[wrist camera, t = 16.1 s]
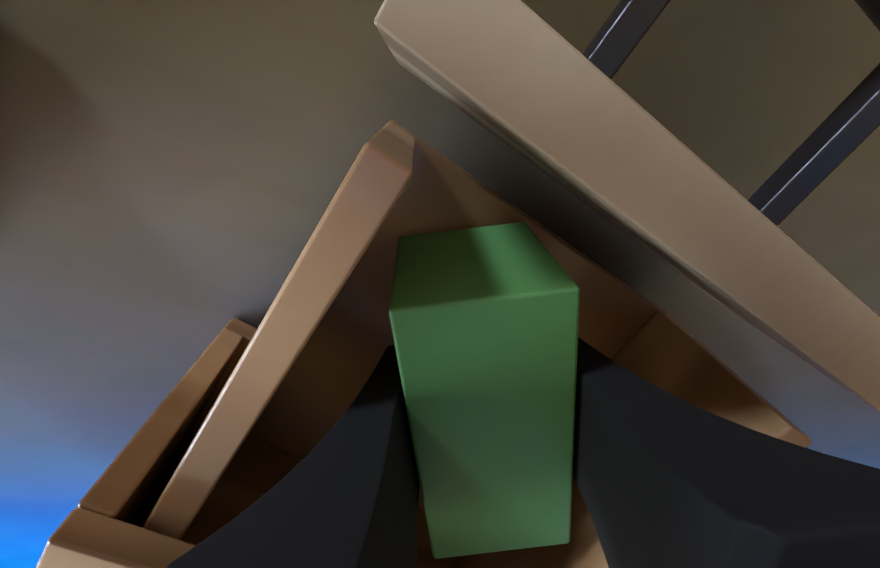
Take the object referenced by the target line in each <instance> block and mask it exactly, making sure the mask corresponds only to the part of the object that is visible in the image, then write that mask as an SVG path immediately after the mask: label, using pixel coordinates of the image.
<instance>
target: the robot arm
mask: <svg viewBox="0 0 880 568" xmlns="http://www.w3.org/2000/svg"><path fill="white" fill-rule="evenodd" d="M573 477H574V479H575V481H576V483H577V485H578V488H579V490H580V492H581V494H582V496H583V498H584V501H585V503H586V506H587V508H588V511H589V513H590V515H591V518H592V521H593V524H594V526H595V529H596V532H597V535H598V538H599V541H600V544H601V547H602V549H603V552H604V555H605V558H606V561H607V564H608V567H609V568H880V469H877V468H874V467H870V466H866V465H863V464H859V463H856V462H852V461H848V460H845V459H841V458H837V457H834V456H830V455H827V454H823V453H820V452H817V451H814V450H811V449H808V448H805V447H802V446H799V445H796V444H793V443H790V442H787V441H783V440H780V439H777V438H775V437H772V436H769V435H766V434H764V433H761V432H758V431H755V430H752V429H750V428H747V427H745V426H742V425H740V424H737V423H735V422H732V421H730V420H727V419H725V418H722V417H720V416H717V415H715V414H713V413H710V412H708V411H706V410H704V409H701V408H699V407H697V406H695V405H693V404H691V403H689V402H686V401H684V400H682V399H680V398H678V397H676V396H674V395H672V394H670V393H668V392H666V391H664V390H662V389H660V388H658V387H657V386H655V385H653V384H651V383H649V382H648V381H646V380H644V379H642V378H641V377H639V376H637V375H636V374H634V373H632V372H630V371H629V370H627V369H626V368H624V367H622V366H621V365H619V364H617V363H616V362H614V361H613V360H611V359H610V358H608V357H607V356H605V355H604V354H602V353H601V352H599V351H598V350H596V349H595V348H593V347H592V346H590V345H589V344H587V343H586V342H585V341H583V340H582V339H580V338H579V337H578V354H577V379H576V404H575V428H574V453H573ZM419 487H420V483H419V477H418V472H417V466H416V461H415V455H414V450H413V444H412V439H411V433H410V428H409V422H408V417H407V411H406V406H405V400H404V395H403V389H402V383H401V378H400V372H399V367H398V361H397V356H396V350H395V345H390V346H388V347H387V348H386V350H385V351H384V353H383V355H382V357H381V359H380V360H379V362H378V364H377V365H376V367H375V369H374V370H373V372H372V374H371V375H370V377H369V378H368V380H367V381H366V383H365V384H364V386H363V387H362V389H361V390H360V392H359V393H358V395H357V396H356V398H355V399H354V401H353V402H352V403H351V405H350V406H349V407H348V409H347V410H346V411H345V412H344V414H343V415H342V416H341V418H340V419H339V420H338V422H337V423H336V424H335V425H334V426H333V428H332V429H331V430H330V431H329V432H328V434H327V435H326V436H325V437H324V438H323V439H322V440H321V441H320V442H319V444H318V445H317V446H316V447H315V448H314V449H313V450H312V451H311V452H310V453H309V454H308V455H307V456H306V457H305V458H304V459H303V460H302V461H301V462H300V463H299V464H298V465H297V466H295V467H294V468H293V469H292V470H291V471H290V472H289V473H288V474H287V475H286V476H285V477H284V478H283V479H282V480H281V481H279V482H278V483H277V484H276V485H275V486H274V487H273V488H271V489H270V490H269V491H268V492H267V493H265V494H264V495H263V496H262V497H261V498H259V499H258V500H257V501H256V502H254V503H253V504H252V505H251V506H249V507H248V508H247V509H246V510H244V511H243V512H242V513H240V514H239V515H238V516H237V517H235V518H234V519H233V520H231V521H230V522H229V523H227V524H226V525H225V526H223V527H222V528H220V529H219V530H218V531H216V532H215V533H213V534H212V535H210V536H209V537H208V538H206V539H205V540H203V541H202V542H200V543H199V544H198V545H196V546H195V547H193V548H192V549H190V550H189V551H188V552H186V553H185V554H183V555H182V556H180V557H179V558H177V559H176V560H174V561H173V562H171V563H170V564H169V565H168V566H167V568H417V516H418V501H419Z"/></svg>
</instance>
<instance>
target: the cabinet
mask: <svg viewBox="0 0 880 568" xmlns="http://www.w3.org/2000/svg"><path fill="white" fill-rule="evenodd" d="M256 330H257V328H255V327H253V326H251V325H249V324H247V323H245V322H243V321H241V320H239V319H236V318H232V319H231V320H230V321H229V322H228V323H227V325H226V326H225V327H224V329H222V331H221V332H220V333H219V334H218V335H217V337H216V338H215V339H214V340H213V342H212V343H211V344H210V345H209V346H208V348H207V349H206V350H205V351H204V352H203V354H202V355H201V356H200V357H199V358H198V360H197V361H196V362H195V363H194V364H193V366H192V367H191V368H190V369H189V370H188V372H187V373H186V374H185V375H184V376H183V378H182V379H181V380H180V381H179V382H178V384H177V385H176V386H175V387H174V388H173V390H172V391H171V392H170V393H169V394H168V396H167V397H166V398H165V399H164V400H163V402H162V403H161V404H160V405H159V407H158V408H157V409H156V410H155V411H154V413H153V414H152V415H151V416H150V417H149V419H148V420H147V421H146V422H145V423H144V425H143V426H142V427H141V428H140V429H139V431H138V432H137V433H136V434H135V435H134V437H133V438H132V439H131V440H130V441H129V443H128V444H127V445H126V446H125V447H124V449H123V450H122V451H121V452H120V453H119V455H118V456H117V457H116V458H115V459H114V461H113V462H112V463H111V464H110V465H109V467H108V468H107V469H106V470H105V472H104V473H103V474H102V475H101V476H100V478H99V479H98V480H97V481H96V482H95V484H94V485H93V486H92V487H91V488H90V490H89V491H88V492H87V493H86V494H85V496H84V497H83V498H82V499H81V500H80V502H79V503H78V505H77V507H76V508H75V509H74V510H72V511H71V512H70V514H69V515H68V516H67V517H66V519H65V520H64V521H63V522H62V523H61V525H60V526H59V527H58V528H57V529H56V531H55V532H54V533H53V534H52V535H51V537H50V538H49V539H48V541H47V544H46V546H45V548H44V550H43V552H42V555H41V557H40V559H39V561H38V563H37V565H36V568H167V566H168V565H169V564H170V563H171V562H173V561H174V560H176V559H177V558H179V557H180V556H182V555H183V554H185V553H186V552H188V551H189V550H190V549H192V548H193V547H195V546H196V545H194V544H191V543H188V542H185V541H182V540H179V539H175V538H172V537H169V536H166V535H163V534H160V533H157V532H154V531H151V530H148V529H145V528H143V526H144V524H145V522H146V521H147V519H148V517H149V515H150V514H151V512H152V510H153V508H154V507H155V505H156V503H157V502H158V500H159V498H160V496H161V495H162V493H163V491H164V489H165V488H166V486H167V484H168V483H169V481H170V479H171V477H172V476H173V474H174V472H175V470H176V469H177V467H178V465H179V464H180V462H181V460H182V458H183V457H184V455H185V453H186V451H187V450H188V448H189V446H190V444H191V443H192V441H193V439H194V438H195V436H196V434H197V432H198V431H199V429H200V427H201V425H202V424H203V422H204V420H205V419H206V417H207V415H208V413H209V412H210V410H211V408H212V406H213V405H214V403H215V401H216V400H217V398H218V396H219V394H220V393H221V391H222V389H223V387H224V386H225V384H226V382H227V380H228V379H229V377H230V375H231V374H232V372H233V370H234V368H235V367H236V365H237V363H238V361H239V360H240V358H241V356H242V355H243V353H244V351H245V349H246V348H247V346H248V344H249V342H250V341H251V339H252V337H253V336H254V334H255V332H256Z"/></svg>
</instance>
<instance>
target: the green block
mask: <svg viewBox="0 0 880 568" xmlns="http://www.w3.org/2000/svg"><path fill="white" fill-rule="evenodd" d="M579 304H580V289H579V287H578V285H577V284H576V283H575V282H574V281H573V279H572V278H571V277H570V276H569V275H568V274H567V272H566V271H565V270H564V269H563V268H562V266H561V265H560V264H559V263H558V262H557V260H556V259H555V258H554V257H553V256H552V255H551V253H550V252H549V251H548V250H547V249H546V247H545V246H544V245H543V244H542V243H541V241H540V240H539V239H538V238H537V237H536V236H535V234H534V233H533V232H532V231H531V230H530V228H529V227H528V226H527V225H526V224H525V223H524V222H518V223H510V224H501V225H493V226H484V227H476V228H467V229H459V230H450V231H442V232H434V233H425V234H417V235H408V236H401V237H399V239H398V246H397V253H396V261H395V268H394V276H393V283H392V291H391V299H390V306H389V317H390V323H391V328H392V334H393V339H394V345H395V350H396V356H397V361H398V367H399V372H400V378H401V383H402V389H403V395H404V400H405V406H406V411H407V417H408V422H409V428H410V433H411V439H412V444H413V450H414V455H415V461H416V466H417V472H418V477H419V483H420V488H421V494H422V499H423V505H424V510H425V516H426V521H427V527H428V532H429V538H430V543H431V549H432V555H433V557H434V558H435V559H439V558H448V557H456V556H465V555H473V554H482V553H490V552H499V551H507V550H515V549H524V548H532V547H541V546H549V545H558V544H566V543H569V542H570V528H571V503H572V478H573V453H574V428H575V404H576V379H577V354H578V329H579Z"/></svg>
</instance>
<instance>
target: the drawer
mask: <svg viewBox="0 0 880 568" xmlns="http://www.w3.org/2000/svg"><path fill="white" fill-rule="evenodd" d="M669 2H670V0H621V1H620V2H619V4H618V5H617V7H616V8H615V9H614V11H613V12H612V14H611V15H610V16H609V18H608V19H607V21H606V22H605V23H604V25H603V26H602V28H601V29H600V30H599V32H598V33H597V35H596V36H595V37H594V39H593V40H592V42H591V43H590V44H589V46H588V47H587V49H586V50H585V51H584V53H583V54H581V53H580V52H579V51H578V50H577V49H576V48H574V47H573V46H572V45H571V44H570V43H569V42H568V41H567V40H565V39H564V38H563V37H562V36H561V35H560V34H559V33H557V32H556V31H555V30H554V29H553V28H552V27H551V26H550V25H548V24H547V23H546V22H545V21H544V20H543V19H542V18H541V17H539V16H538V15H537V14H536V13H535V12H534V11H533V10H531V9H530V8H529V7H528V6H527V5H526V4H525V3H524V2H522V1H521V0H384V2H383V4H382V6H381V7H380V9H379V11H378V13H377V15H376V17H375V19H374V23H375V25H376V27H377V29H378V30H379V32H380V34H381V35H382V37H383V39H384V40H385V42H386V44H387V45H388V47H389V49H390V50H391V52H392V54H393V56H394V57H395V59H396V61H397V62H398V63H399V64H400V65H402V66H403V67H404V68H406V69H407V70H408V71H410V72H411V73H412V74H414V75H415V76H416V77H418V78H419V79H420V80H422V81H423V82H424V83H426V84H427V85H428V86H430V87H431V88H432V89H434V90H435V91H436V92H438V93H439V94H440V95H442V96H443V97H444V98H446V99H447V100H448V101H450V102H451V103H452V104H454V105H455V106H456V107H458V108H459V109H460V110H462V111H463V112H464V113H466V114H467V115H468V116H470V117H471V118H472V119H474V120H475V121H476V122H478V123H479V124H480V125H482V126H483V127H484V128H486V129H487V130H488V131H490V132H491V133H492V134H494V135H495V136H496V137H498V138H499V139H500V140H502V141H503V142H504V143H506V144H507V145H508V146H510V147H511V148H512V149H514V150H515V151H516V152H518V153H519V154H520V155H522V156H523V157H524V158H525V159H527V160H528V161H529V162H531V163H532V164H533V165H535V166H536V167H537V168H539V169H540V170H541V171H543V172H544V173H545V174H547V175H548V176H549V177H551V178H552V179H553V180H555V181H556V182H557V183H559V184H560V185H561V186H563V187H564V188H565V189H567V190H568V191H569V192H571V193H572V194H573V195H575V196H576V197H577V198H579V199H580V200H581V201H583V202H584V203H585V204H587V205H588V206H589V207H591V208H592V209H593V210H595V211H596V212H597V213H599V214H600V215H601V216H603V217H604V218H605V219H607V220H608V221H609V222H611V223H612V224H613V225H615V226H616V227H617V228H619V229H620V230H621V231H623V232H624V233H625V234H627V235H628V236H629V237H631V238H632V239H633V240H635V241H636V242H637V243H639V244H640V245H641V246H643V247H644V248H645V249H647V250H648V251H649V252H651V253H652V254H653V255H655V256H656V257H657V258H659V259H660V260H661V261H663V262H664V263H665V264H667V265H668V266H669V267H671V268H672V269H673V270H675V271H676V272H677V273H679V274H680V275H681V276H683V277H684V278H685V279H687V280H688V281H689V282H691V283H692V284H693V285H695V286H696V287H697V288H699V289H700V290H702V291H703V292H705V293H706V294H708V295H709V296H710V297H712V298H713V299H715V300H716V301H718V302H719V303H721V304H722V305H724V306H725V307H726V308H728V309H729V310H731V311H732V312H734V313H735V314H737V315H738V316H740V317H741V318H743V319H744V320H745V321H747V322H748V323H750V324H751V325H753V326H754V327H756V328H757V329H759V330H760V331H761V332H763V333H764V334H766V335H767V336H769V337H770V338H772V339H773V340H775V341H776V342H778V343H779V344H780V345H782V346H783V347H785V348H786V349H788V350H789V351H791V352H792V353H794V354H795V355H796V356H798V357H799V358H801V359H802V360H804V361H805V362H807V363H808V364H810V365H811V366H812V367H814V368H815V369H817V370H818V371H820V372H821V373H823V374H824V375H826V376H827V377H829V378H830V379H831V380H833V381H834V382H836V383H837V384H839V385H840V386H842V387H843V388H845V389H846V390H847V391H849V392H850V393H852V394H853V395H855V396H856V397H858V398H859V399H861V400H862V401H864V402H865V403H866V404H868V405H869V406H871V407H872V408H874V409H875V410H877V411H878V412H880V317H879V316H878V315H877V314H876V313H874V312H873V311H872V310H871V309H870V308H869V307H868V306H867V305H865V304H864V303H863V302H862V301H861V300H860V299H859V298H857V297H856V296H855V295H854V294H853V293H852V292H851V291H850V290H848V289H847V288H846V287H845V286H844V285H843V284H842V283H841V282H839V281H838V280H837V279H836V278H835V277H834V276H833V275H831V274H830V273H829V272H828V271H827V270H826V269H825V268H824V267H822V266H821V265H820V264H819V263H818V262H817V261H816V260H814V259H813V258H812V257H811V256H810V255H809V254H808V253H807V252H805V251H804V250H803V249H802V248H801V247H800V246H799V245H797V244H796V243H795V242H794V241H793V240H792V239H791V238H790V237H788V236H787V235H786V234H785V233H784V232H783V231H782V230H781V229H779V228H778V227H777V225H779V224H780V223H781V222H782V221H783V220H784V219H785V218H786V217H787V216H788V215H789V214H790V213H791V212H792V211H793V210H794V209H795V208H796V207H797V206H798V205H799V204H800V203H801V202H802V201H803V200H804V199H805V198H806V197H807V196H808V195H809V194H810V193H811V192H812V191H813V190H814V189H815V188H816V187H817V186H818V185H819V184H820V183H821V182H822V181H823V180H824V179H825V178H826V177H827V176H828V175H829V174H830V173H831V172H832V171H833V170H834V169H836V168H837V167H838V166H839V165H840V164H841V163H842V162H843V161H844V160H845V159H846V158H847V157H848V156H849V155H850V154H851V153H852V152H853V151H854V150H855V149H856V148H857V147H858V146H859V145H860V144H861V143H862V142H863V141H864V140H865V139H866V138H867V137H868V136H869V135H870V134H871V133H872V132H873V131H874V130H875V129H876V128H877V127H878V126H879V125H880V63H879V64H878V65H877V66H876V67H875V69H874V70H873V71H872V72H871V73H870V74H869V75H868V76H867V77H866V78H865V79H864V80H863V81H862V82H861V83H860V84H859V85H858V86H857V87H856V88H855V89H854V90H853V91H852V92H851V93H850V94H849V95H848V96H847V98H846V99H845V100H844V101H843V102H842V103H841V104H840V105H839V106H838V107H837V108H836V109H835V110H834V111H833V112H832V113H831V114H830V115H829V116H828V117H827V118H826V119H825V120H824V121H823V122H822V123H821V124H820V125H819V127H818V128H817V129H816V130H815V131H814V132H813V133H812V134H811V135H810V136H809V137H808V138H807V139H806V140H805V141H804V142H803V143H802V144H801V145H800V146H799V147H798V148H797V149H796V150H795V151H794V152H793V153H792V154H791V156H790V157H789V158H788V159H787V160H786V161H785V162H784V163H783V164H782V165H781V166H780V167H779V168H778V169H777V170H776V171H775V172H774V173H773V174H772V175H771V176H770V177H769V178H768V179H767V180H766V181H765V182H764V183H763V185H762V186H761V187H760V188H759V189H758V190H757V191H756V192H755V193H754V194H753V195H752V196H751V197H750V198H749V199H748V200H747V199H745V198H744V197H743V196H742V195H741V194H740V193H739V192H737V191H736V190H735V189H734V188H733V187H732V186H731V185H730V184H728V183H727V182H726V181H725V180H724V179H723V178H722V177H721V176H719V175H718V174H717V173H716V172H715V171H714V170H713V169H711V168H710V167H709V166H708V165H707V164H706V163H705V162H704V161H702V160H701V159H700V158H699V157H698V156H697V155H696V154H694V153H693V152H692V151H691V150H690V149H689V148H688V147H687V146H685V145H684V144H683V143H682V142H681V141H680V140H679V139H677V138H676V137H675V136H674V135H673V134H672V133H671V132H670V131H668V130H667V129H666V128H665V127H664V126H663V125H662V124H661V123H659V122H658V121H657V120H656V119H655V118H654V117H653V116H651V115H650V114H649V113H648V112H647V111H646V110H645V109H644V108H642V107H641V106H640V105H639V104H638V103H637V102H636V101H634V100H633V99H632V98H631V97H630V96H629V95H628V94H627V93H625V92H624V91H623V90H622V89H621V88H620V87H619V86H617V85H616V84H615V83H614V82H613V81H612V80H611V79H612V77H613V76H614V75H615V73H616V72H617V71H618V69H619V68H620V67H621V66H622V64H623V63H624V62H625V60H626V59H627V58H628V56H629V55H630V54H631V52H632V51H633V50H634V48H635V47H636V46H637V44H638V43H639V42H640V40H641V39H642V38H643V36H644V35H645V34H646V32H647V31H648V30H649V28H650V27H651V26H652V24H653V23H654V22H655V20H656V19H657V18H658V16H659V15H660V14H661V12H662V11H663V10H664V8H665V7H666V6H667V4H668V3H669ZM855 2H856V3H857V4H858V5H859V7H860V8H861V9H862V10H863V12H864V13H865V14H866V15H867V16H868V18H869V19H870V20H871V21H872V23H873V24H874V25H875V26H876V28H877V29H878V30H879V31H880V0H855ZM518 222H524V223H525V224H526V225H527V226H528V227H529V228H530V230H531V231H532V232H533V233H534V234H535V236H536V237H537V238H538V239H539V240H540V241H541V243H542V244H543V245H544V246H545V247H546V249H547V250H548V251H549V252H550V253H551V255H552V256H553V257H554V258H555V259H556V260H557V262H558V263H559V264H560V265H561V266H562V268H563V269H564V270H565V271H566V272H567V274H568V275H569V276H570V277H571V278H572V279H573V281H574V282H575V283H576V284H577V285H578V287H579V289H580V304H579V329H578V337H579V338H580V339H582V340H583V341H585V342H586V343H587V344H589V345H590V346H592V347H593V348H595V349H596V350H598V351H599V352H601V353H602V354H604V355H605V356H607V357H608V358H610V359H611V360H613V361H614V362H616V363H617V364H619V365H621V366H622V367H624V368H626V369H627V370H629V371H630V372H632V373H634V374H636V375H637V376H639V377H641V378H642V379H644V380H646V381H648V382H649V383H651V384H653V385H655V386H657V387H658V388H660V389H662V390H664V391H666V392H668V393H670V394H672V395H674V396H676V397H678V398H680V399H682V400H684V401H686V402H689V403H691V404H693V405H695V406H697V407H699V408H701V409H704V410H706V411H708V412H710V413H713V414H715V415H717V416H720V417H722V418H725V419H727V420H730V421H732V422H735V423H737V424H740V425H742V426H745V427H747V428H750V429H752V430H755V431H758V432H761V433H764V434H766V435H769V436H772V437H775V438H777V439H780V440H783V441H787V442H790V443H793V444H796V445H799V446H802V447H805V448H806V447H808V446H809V445H810V444H811V440H810V438H809V437H808V436H807V435H806V434H804V433H803V432H802V431H801V430H800V429H799V428H797V427H796V426H795V425H794V424H793V423H792V422H791V421H789V420H788V419H787V418H786V417H785V416H784V415H783V414H781V413H780V412H779V411H778V410H777V409H776V408H775V407H773V406H772V405H771V404H770V403H769V402H768V401H767V400H765V399H764V398H763V397H762V396H761V395H760V394H759V393H757V392H756V391H755V390H754V389H753V388H752V387H751V386H749V385H748V384H747V383H746V382H745V381H744V380H743V379H741V378H740V377H739V376H738V375H737V374H736V373H735V372H733V371H732V370H731V369H730V368H729V367H728V366H727V365H725V364H724V363H723V362H722V361H721V360H720V359H718V358H717V357H716V356H715V355H714V354H713V353H712V352H710V351H709V350H708V349H707V348H706V347H705V346H704V345H702V344H701V343H700V342H699V341H698V340H697V339H696V338H694V337H693V336H692V335H691V334H690V333H689V332H688V331H686V330H685V329H684V328H683V327H682V326H681V325H680V324H678V323H677V322H676V321H675V320H673V318H672V317H670V316H669V315H668V314H667V313H666V312H665V311H664V310H662V309H661V308H660V307H658V306H657V305H655V304H654V303H653V302H651V301H650V300H648V299H647V298H645V297H644V296H643V295H641V294H640V293H638V292H637V291H635V290H634V289H633V288H631V287H630V286H628V285H627V284H626V283H624V282H623V281H621V280H620V279H618V278H617V277H616V276H614V275H613V274H611V273H610V272H608V271H607V270H606V269H604V268H603V267H601V266H600V265H599V264H597V263H596V262H594V261H593V260H591V259H590V258H589V257H587V256H586V255H584V254H583V253H582V252H580V251H579V250H577V249H576V248H574V247H573V246H572V245H570V244H569V243H567V242H566V241H564V240H563V239H562V238H560V237H559V236H557V235H556V234H555V233H553V232H552V231H550V230H549V229H547V228H546V227H545V226H543V225H542V224H540V223H539V222H537V221H536V220H535V219H533V218H532V217H530V216H529V215H528V214H526V213H525V212H523V211H522V210H520V209H519V208H518V207H516V206H515V205H513V204H512V203H510V202H509V201H508V200H506V199H505V198H503V197H502V196H501V195H499V194H498V193H496V192H495V191H493V190H492V189H491V188H489V187H488V186H486V185H485V184H483V183H482V182H481V181H479V180H478V179H476V178H475V177H474V176H472V175H471V174H469V173H468V172H466V171H465V170H464V169H462V168H461V167H459V166H458V165H456V164H455V163H454V162H452V161H451V160H449V159H448V158H447V157H445V156H444V155H442V154H441V153H439V152H438V151H437V150H435V149H434V148H432V147H431V146H430V145H428V144H427V143H425V142H424V141H422V140H421V139H420V138H418V137H417V136H415V135H414V134H412V133H411V132H410V131H408V130H407V129H405V128H404V127H403V126H401V125H400V124H398V123H397V122H395V121H394V120H390V121H389V122H388V123H387V124H386V125H384V126H383V127H382V128H381V129H380V130H379V131H378V132H377V133H376V134H375V135H374V136H373V137H371V138H370V139H369V140H368V141H367V142H366V143H365V144H364V145H363V147H362V149H361V150H360V152H359V154H358V156H357V157H356V159H355V161H354V163H353V164H352V166H351V168H350V169H349V171H348V173H347V175H346V176H345V178H344V180H343V182H342V183H341V185H340V187H339V188H338V190H337V192H336V194H335V195H334V197H333V199H332V201H331V202H330V204H329V206H328V208H327V209H326V211H325V213H324V214H323V216H322V218H321V220H320V221H319V223H318V225H317V227H316V228H315V230H314V232H313V233H312V235H311V237H310V239H309V240H308V242H307V244H306V246H305V247H304V249H303V251H302V252H301V254H300V256H299V258H298V259H297V261H296V263H295V265H294V266H293V268H292V270H291V272H290V273H289V275H288V277H287V278H286V280H285V282H284V284H283V285H282V287H281V289H280V291H279V292H278V294H277V296H276V297H275V299H274V301H273V303H272V304H271V306H270V308H269V310H268V311H267V313H266V315H265V316H264V318H263V320H262V322H261V323H260V325H259V327H258V329H257V330H256V332H255V334H254V336H253V337H252V339H251V341H250V342H249V344H248V346H247V348H246V349H245V351H244V353H243V355H242V356H241V358H240V360H239V361H238V363H237V365H236V367H235V368H234V370H233V372H232V374H231V375H230V377H229V379H228V380H227V382H226V384H225V386H224V387H223V389H222V391H221V393H220V394H219V396H218V398H217V400H216V401H215V403H214V405H213V406H212V408H211V410H210V412H209V413H208V415H207V417H206V419H205V420H204V422H203V424H202V425H201V427H200V429H199V431H198V432H197V434H196V436H195V438H194V439H193V441H192V443H191V444H190V446H189V448H188V450H187V451H186V453H185V455H184V457H183V458H182V460H181V462H180V464H179V465H178V467H177V469H176V470H175V472H174V474H173V476H172V477H171V479H170V481H169V483H168V484H167V486H166V488H165V489H164V491H163V493H162V495H161V496H160V498H159V500H158V502H157V503H156V505H155V507H154V508H153V510H152V512H151V514H150V515H149V517H148V519H147V521H146V522H145V524H144V526H143V528H145V529H148V530H151V531H154V532H157V533H160V534H163V535H166V536H169V537H172V538H175V539H179V540H182V541H185V542H188V543H191V544H194V545H198V544H199V543H200V542H202V541H203V540H205V539H206V538H208V537H209V536H210V535H212V534H213V533H215V532H216V531H218V530H219V529H220V528H222V527H223V526H225V525H226V524H227V523H229V522H230V521H231V520H233V519H234V518H235V517H237V516H238V515H239V514H240V513H242V512H243V511H244V510H246V509H247V508H248V507H249V506H251V505H252V504H253V503H254V502H256V501H257V500H258V499H259V498H261V497H262V496H263V495H264V494H265V493H267V492H268V491H269V490H270V489H271V488H273V487H274V486H275V485H276V484H277V483H278V482H279V481H281V480H282V479H283V478H284V477H285V476H286V475H287V474H288V473H289V472H290V471H291V470H292V469H293V468H294V467H295V466H297V465H298V464H299V463H300V462H301V461H302V460H303V459H304V458H305V457H306V456H307V455H308V454H309V453H310V452H311V451H312V450H313V449H314V448H315V447H316V446H317V445H318V444H319V442H320V441H321V440H322V439H323V438H324V437H325V436H326V435H327V434H328V432H329V431H330V430H331V429H332V428H333V426H334V425H335V424H336V423H337V422H338V420H339V419H340V418H341V416H342V415H343V414H344V412H345V411H346V410H347V409H348V407H349V406H350V405H351V403H352V402H353V401H354V399H355V398H356V396H357V395H358V393H359V392H360V390H361V389H362V387H363V386H364V384H365V383H366V381H367V380H368V378H369V377H370V375H371V374H372V372H373V370H374V369H375V367H376V365H377V364H378V362H379V360H380V359H381V357H382V355H383V353H384V351H385V350H386V348H387V347H388V346H390V345H394V339H393V334H392V328H391V323H390V317H389V306H390V299H391V291H392V283H393V276H394V268H395V261H396V253H397V246H398V239H399V237H401V236H408V235H417V234H425V233H434V232H442V231H450V230H459V229H467V228H476V227H484V226H493V225H501V224H510V223H518ZM417 568H609V567H608V564H607V561H606V558H605V555H604V552H603V549H602V547H601V544H600V541H599V538H598V535H597V532H596V529H595V526H594V524H593V521H592V518H591V515H590V513H589V511H588V508H587V506H586V503H585V501H584V498H583V496H582V494H581V492H580V490H579V488H578V485H577V483H576V481H575V479H574V477H573V478H572V503H571V528H570V542H569V543H566V544H558V545H549V546H541V547H532V548H524V549H515V550H507V551H499V552H490V553H482V554H473V555H465V556H456V557H448V558H439V559H435V558H434V557H433V555H432V549H431V543H430V538H429V532H428V527H427V521H426V516H425V510H424V505H423V499H422V494H421V488H420V487H419V501H418V516H417Z"/></svg>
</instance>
